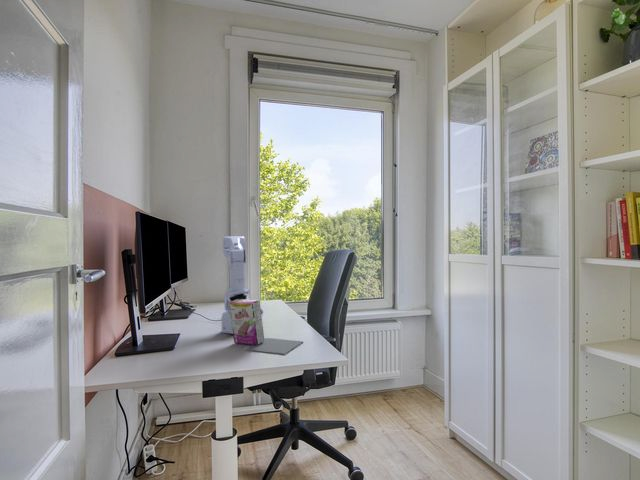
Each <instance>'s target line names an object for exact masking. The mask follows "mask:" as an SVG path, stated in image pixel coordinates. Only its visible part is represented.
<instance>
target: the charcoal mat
mask: <svg viewBox="0 0 640 480" xmlns="http://www.w3.org/2000/svg"><path fill="white" fill-rule="evenodd" d="M303 343H304V341H302V340H294V339H293V340H292V339H282V338H281V339H280V338H272V337H266V338H265V337H264V341H263V342H262V343H260V344H259V345H252V344H251V346H249V347H247V348H245V349H244V351H248V352H255V353H263V354H264V353H266V354H275V355H281V356H286V355H288V354H289V353H290V352H292V351H293V350H295V349H297V348H298V347H299V346H300V345H302V344H303Z"/></svg>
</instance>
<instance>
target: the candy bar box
mask: <svg viewBox="0 0 640 480" xmlns="http://www.w3.org/2000/svg"><path fill="white" fill-rule="evenodd" d="M229 306H230V313H231V321H232V328H233V334H232V336H233V341H234V342H233V343H234V344H240V345H241V344H242V345H251V346H252V345H259V344H260V343H262V342H263V341H264V339H265V333H264V327H263V316H262V309H261V301H260V299H248V300H247V299H236V300H233V301H231V302H229Z"/></svg>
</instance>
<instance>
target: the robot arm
mask: <svg viewBox="0 0 640 480" xmlns="http://www.w3.org/2000/svg"><path fill="white" fill-rule="evenodd" d="M245 247H246V239H245V236H244V235H241V236H239V235H234V236H233V235H232V236H228V235H227V236H225V235H224V236H223V237H222V250H223V256H224V257H226V258H227V261H228V264H229V284H230V288H229V289H228V290H227V291H225V293H224V297H223V298H224V299H223V300H224V303H223V304H224V311H223V312H222V314H221V331H220V333H222V334H232V335H233V328H232V321H231V313H230V306H229V302H231V301H233V300H236V299H247V300H249V296H248V295H249V294H251V293H250V291H251V290H250V288H246V263H247V251H246V248H245Z"/></svg>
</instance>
